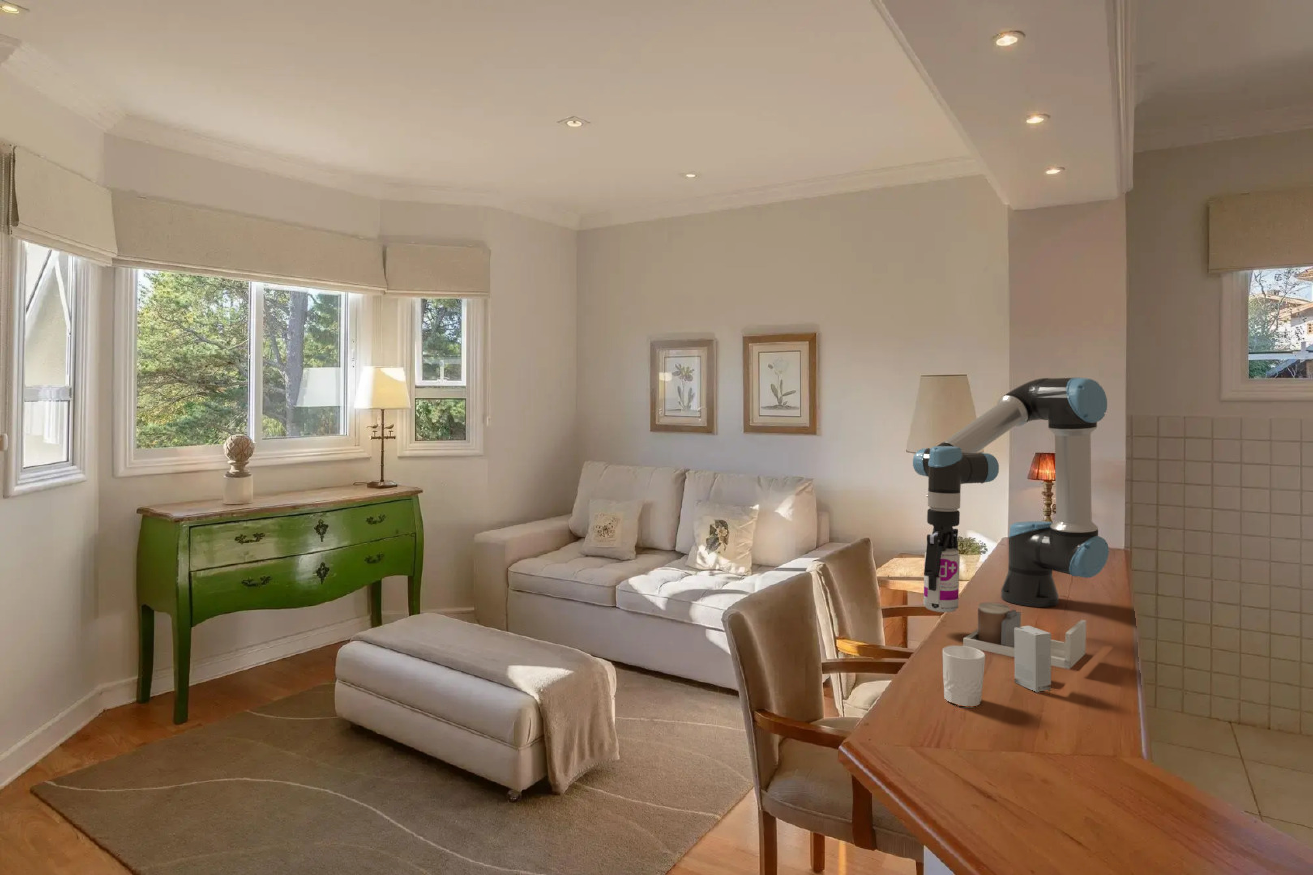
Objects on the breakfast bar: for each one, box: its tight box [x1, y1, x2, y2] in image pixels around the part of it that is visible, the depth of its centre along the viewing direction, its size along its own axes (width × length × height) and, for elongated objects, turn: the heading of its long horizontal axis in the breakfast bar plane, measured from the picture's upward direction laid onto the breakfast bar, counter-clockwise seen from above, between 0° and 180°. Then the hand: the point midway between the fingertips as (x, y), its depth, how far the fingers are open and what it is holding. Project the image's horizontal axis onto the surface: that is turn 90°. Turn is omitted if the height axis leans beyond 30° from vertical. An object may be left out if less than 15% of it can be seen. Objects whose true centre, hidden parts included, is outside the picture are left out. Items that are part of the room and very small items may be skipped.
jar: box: [977, 601, 1011, 645], centre depth 187 cm, size 7×7×9 cm
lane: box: [962, 619, 1087, 670], centre depth 183 cm, size 13×23×9 cm, turn 48°
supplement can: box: [922, 548, 961, 613], centre depth 195 cm, size 8×8×15 cm
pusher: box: [1001, 609, 1022, 647], centre depth 185 cm, size 10×1×8 cm, turn 138°
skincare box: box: [1014, 625, 1052, 693], centre depth 164 cm, size 6×4×12 cm
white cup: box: [941, 645, 986, 706], centre depth 156 cm, size 8×8×10 cm
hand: (940, 599), depth 195 cm, fingers closed on supplement can, 8 cm apart
